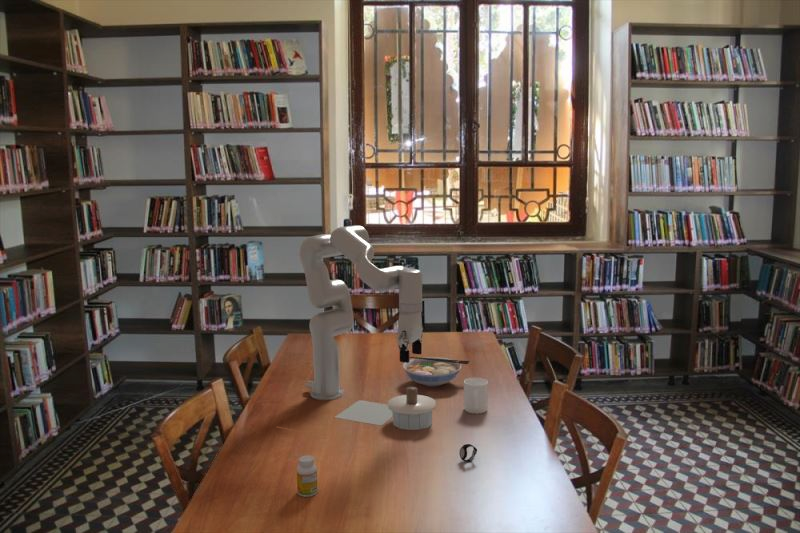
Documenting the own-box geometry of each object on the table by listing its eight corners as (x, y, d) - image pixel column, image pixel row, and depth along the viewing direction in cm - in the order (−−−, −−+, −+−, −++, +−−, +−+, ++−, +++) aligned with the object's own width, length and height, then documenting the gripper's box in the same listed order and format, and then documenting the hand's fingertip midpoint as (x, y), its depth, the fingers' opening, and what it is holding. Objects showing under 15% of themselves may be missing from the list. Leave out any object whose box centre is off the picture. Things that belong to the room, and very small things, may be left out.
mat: (334, 418, 240) (334, 417, 240) (359, 401, 256) (359, 400, 256) (381, 426, 232) (381, 425, 232) (404, 408, 248) (404, 407, 248)
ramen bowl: (391, 389, 268) (390, 368, 266) (412, 371, 289) (412, 352, 287) (453, 397, 258) (453, 376, 257) (471, 378, 279) (471, 358, 278)
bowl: (386, 426, 232) (385, 409, 231) (402, 413, 244) (402, 396, 242) (422, 433, 226) (422, 415, 225) (437, 419, 238) (437, 402, 237)
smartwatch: (459, 458, 208) (459, 442, 207) (476, 458, 208) (476, 442, 207) (460, 464, 204) (460, 448, 203) (477, 464, 204) (478, 448, 203)
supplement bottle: (298, 488, 191) (296, 454, 189) (318, 487, 191) (316, 453, 190) (296, 498, 186) (295, 463, 184) (317, 496, 186) (316, 462, 184)
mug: (487, 418, 238) (487, 389, 236) (462, 417, 239) (462, 388, 237) (487, 405, 250) (487, 378, 248) (464, 405, 251) (464, 377, 249)
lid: (379, 410, 230) (379, 392, 229) (400, 394, 244) (399, 378, 243) (424, 417, 224) (424, 399, 223) (443, 401, 238) (443, 384, 237)
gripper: (411, 300, 238) (411, 349, 241) (388, 311, 223) (388, 363, 226) (431, 302, 235) (431, 352, 238) (410, 314, 220) (410, 366, 223)
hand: (410, 357), depth 232 cm, fingers open, 9 cm apart
